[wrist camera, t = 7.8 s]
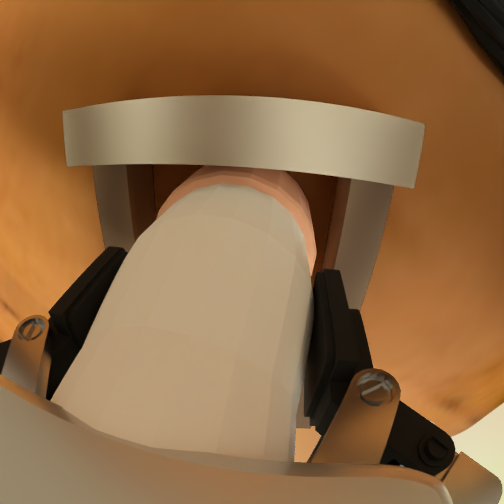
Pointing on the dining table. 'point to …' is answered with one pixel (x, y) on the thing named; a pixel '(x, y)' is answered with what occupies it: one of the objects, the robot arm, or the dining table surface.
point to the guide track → (250, 163)
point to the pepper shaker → (206, 322)
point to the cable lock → (485, 25)
